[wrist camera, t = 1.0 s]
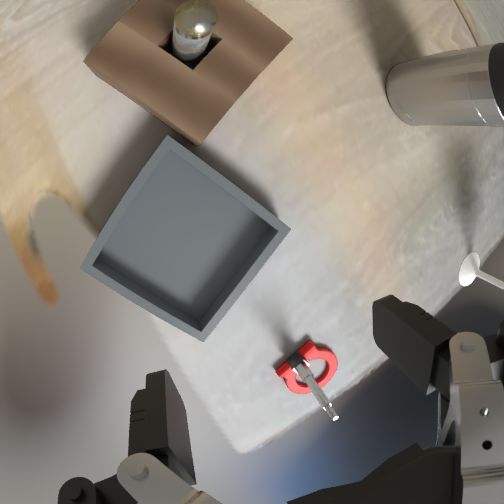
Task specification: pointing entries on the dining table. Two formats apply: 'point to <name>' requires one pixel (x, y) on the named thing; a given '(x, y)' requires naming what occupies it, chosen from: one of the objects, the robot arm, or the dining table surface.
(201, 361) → the dining table surface
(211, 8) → the pin
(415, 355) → the robot arm
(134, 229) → the tray
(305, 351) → the tow hook
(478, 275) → the champagne flute
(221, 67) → the block
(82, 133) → the dining table surface
